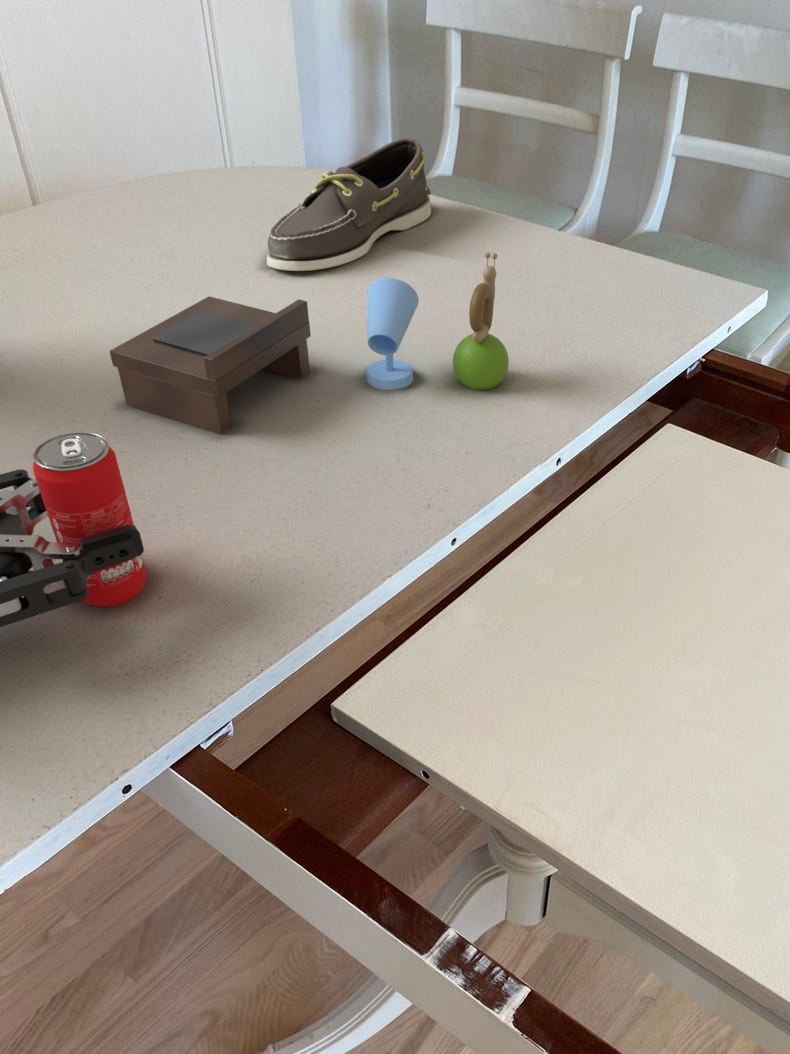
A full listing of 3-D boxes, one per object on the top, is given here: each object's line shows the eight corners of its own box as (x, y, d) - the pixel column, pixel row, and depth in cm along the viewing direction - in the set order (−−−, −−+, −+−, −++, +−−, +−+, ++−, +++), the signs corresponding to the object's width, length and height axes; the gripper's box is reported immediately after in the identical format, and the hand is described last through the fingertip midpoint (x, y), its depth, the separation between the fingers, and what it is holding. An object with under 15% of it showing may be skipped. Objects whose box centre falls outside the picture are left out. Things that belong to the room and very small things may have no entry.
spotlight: (374, 365, 99) (359, 397, 94) (368, 267, 92) (352, 296, 87) (421, 369, 99) (409, 401, 94) (419, 271, 92) (406, 300, 87)
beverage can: (81, 623, 69) (32, 478, 61) (72, 581, 72) (25, 438, 64) (155, 604, 70) (118, 461, 62) (143, 564, 74) (106, 423, 66)
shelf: (124, 410, 91) (103, 329, 86) (218, 352, 101) (205, 276, 95) (227, 443, 87) (212, 359, 82) (315, 379, 97) (307, 300, 91)
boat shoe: (239, 269, 117) (228, 189, 111) (386, 200, 137) (383, 129, 131) (311, 289, 113) (303, 208, 107) (452, 215, 133) (452, 143, 127)
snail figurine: (514, 374, 98) (520, 254, 90) (501, 403, 94) (506, 280, 86) (462, 367, 99) (463, 248, 91) (446, 396, 95) (446, 274, 87)
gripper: (-133, 573, 68) (102, 505, 75) (-96, 698, 59) (167, 607, 66) (-179, 482, 63) (78, 417, 70) (-146, 603, 54) (144, 515, 61)
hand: (120, 509), depth 68 cm, fingers open, 7 cm apart
